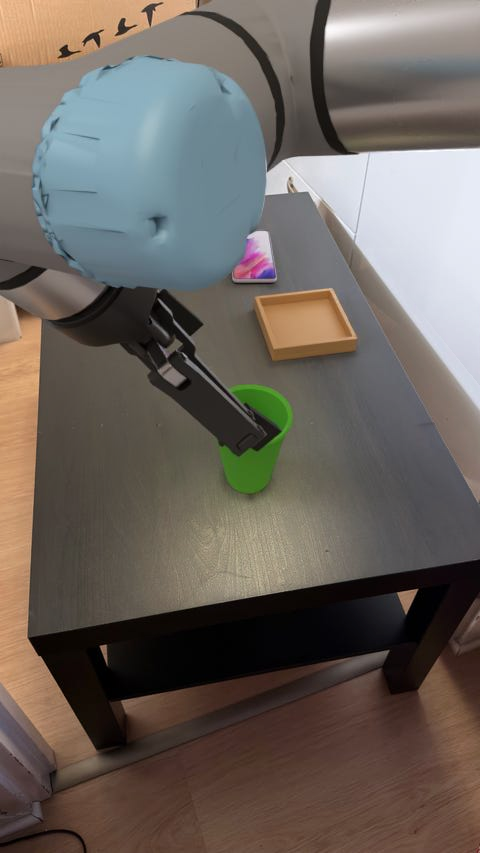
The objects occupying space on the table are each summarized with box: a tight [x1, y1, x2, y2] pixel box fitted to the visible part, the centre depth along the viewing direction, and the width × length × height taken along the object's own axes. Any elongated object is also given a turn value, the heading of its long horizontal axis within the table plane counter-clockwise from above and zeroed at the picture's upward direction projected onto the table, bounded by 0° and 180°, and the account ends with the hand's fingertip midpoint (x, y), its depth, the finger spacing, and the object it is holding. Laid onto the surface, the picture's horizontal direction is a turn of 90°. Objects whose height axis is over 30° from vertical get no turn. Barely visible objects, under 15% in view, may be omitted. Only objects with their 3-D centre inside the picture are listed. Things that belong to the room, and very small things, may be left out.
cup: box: [215, 383, 294, 495], centre depth 70 cm, size 9×9×11 cm
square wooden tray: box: [253, 287, 359, 362], centre depth 91 cm, size 12×12×2 cm
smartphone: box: [231, 229, 278, 284], centre depth 104 cm, size 7×1×15 cm
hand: (227, 382), depth 55 cm, fingers open, 13 cm apart
